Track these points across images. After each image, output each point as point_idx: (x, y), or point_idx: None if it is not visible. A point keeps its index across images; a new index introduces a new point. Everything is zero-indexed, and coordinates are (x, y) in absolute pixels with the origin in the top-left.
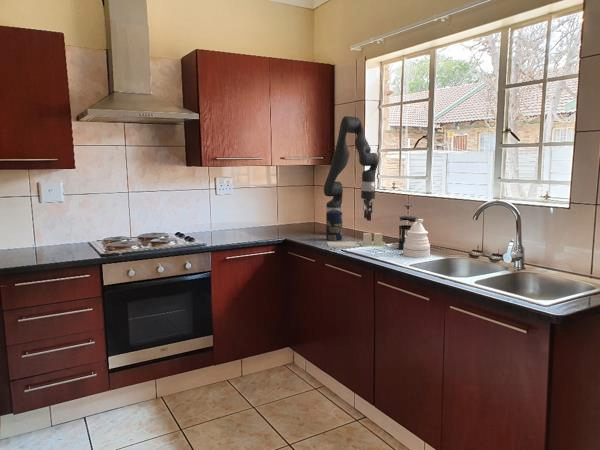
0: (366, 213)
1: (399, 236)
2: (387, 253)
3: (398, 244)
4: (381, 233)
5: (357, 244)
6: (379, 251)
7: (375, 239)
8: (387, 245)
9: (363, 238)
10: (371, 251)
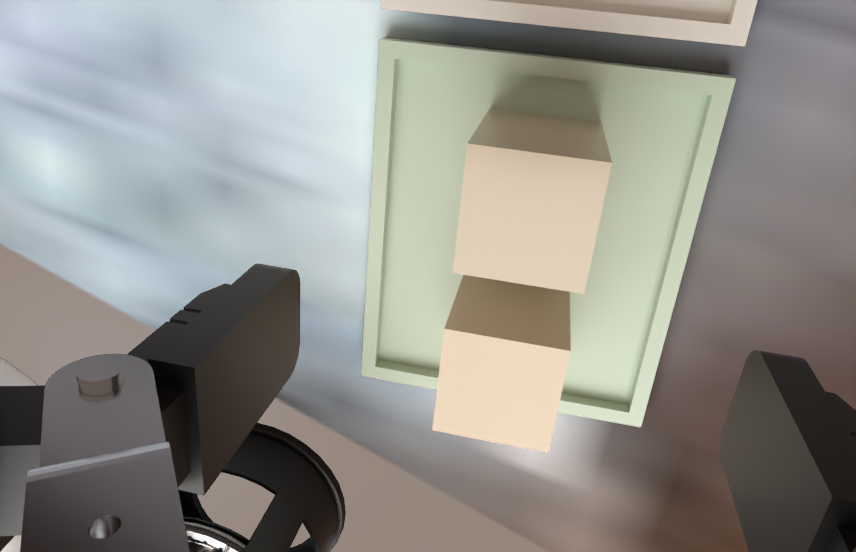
0: (780, 518)
1: (234, 541)
2: (3, 223)
3: (251, 457)
4: (502, 441)
5: (530, 4)
6: (101, 178)
7: (457, 294)
8: (363, 372)
9: (568, 135)
10: (93, 81)
